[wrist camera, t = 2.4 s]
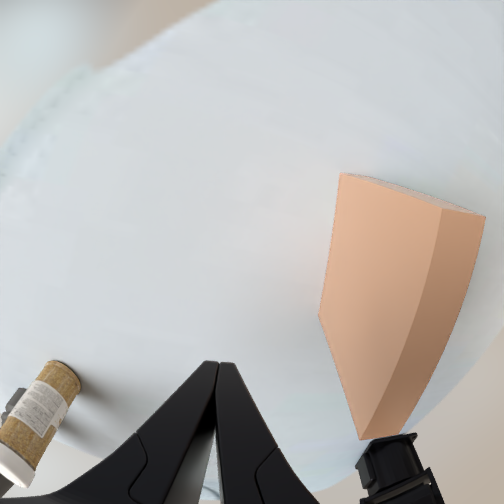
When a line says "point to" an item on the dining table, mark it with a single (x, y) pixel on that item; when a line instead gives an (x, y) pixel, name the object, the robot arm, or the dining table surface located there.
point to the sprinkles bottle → (36, 422)
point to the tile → (393, 294)
